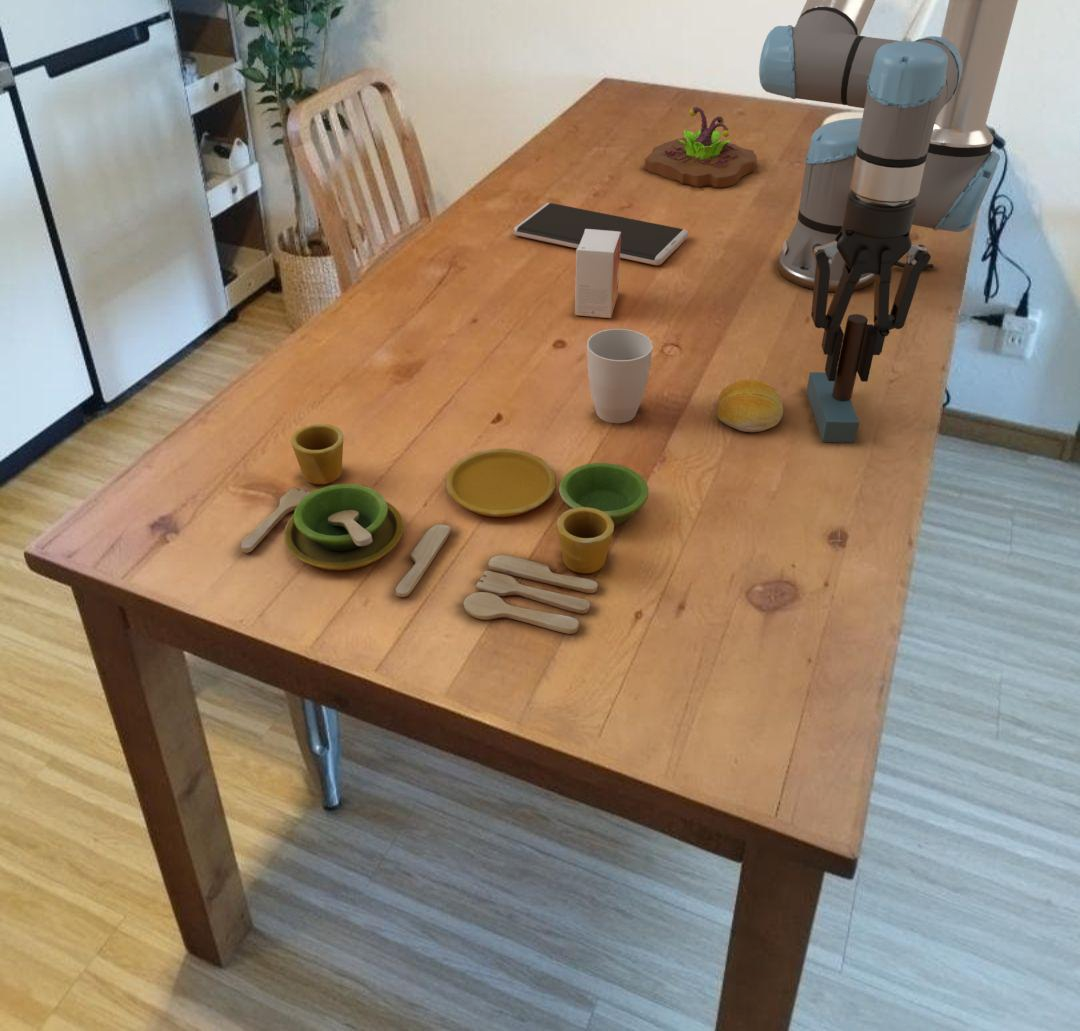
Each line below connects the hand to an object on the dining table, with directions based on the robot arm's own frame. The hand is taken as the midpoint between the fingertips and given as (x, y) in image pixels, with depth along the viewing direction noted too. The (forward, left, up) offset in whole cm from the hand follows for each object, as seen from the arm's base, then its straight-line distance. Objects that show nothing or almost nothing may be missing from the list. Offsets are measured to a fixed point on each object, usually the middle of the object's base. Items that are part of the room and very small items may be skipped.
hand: (845, 375), depth 134 cm
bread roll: (+12, 0, -6) cm, 13 cm away
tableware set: (+48, +23, -6) cm, 53 cm away
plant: (+10, -89, -6) cm, 90 cm away
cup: (+28, 0, -6) cm, 29 cm away
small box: (+30, -30, -6) cm, 43 cm away
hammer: (0, 0, -6) cm, 6 cm away
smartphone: (+30, -55, -6) cm, 63 cm away
